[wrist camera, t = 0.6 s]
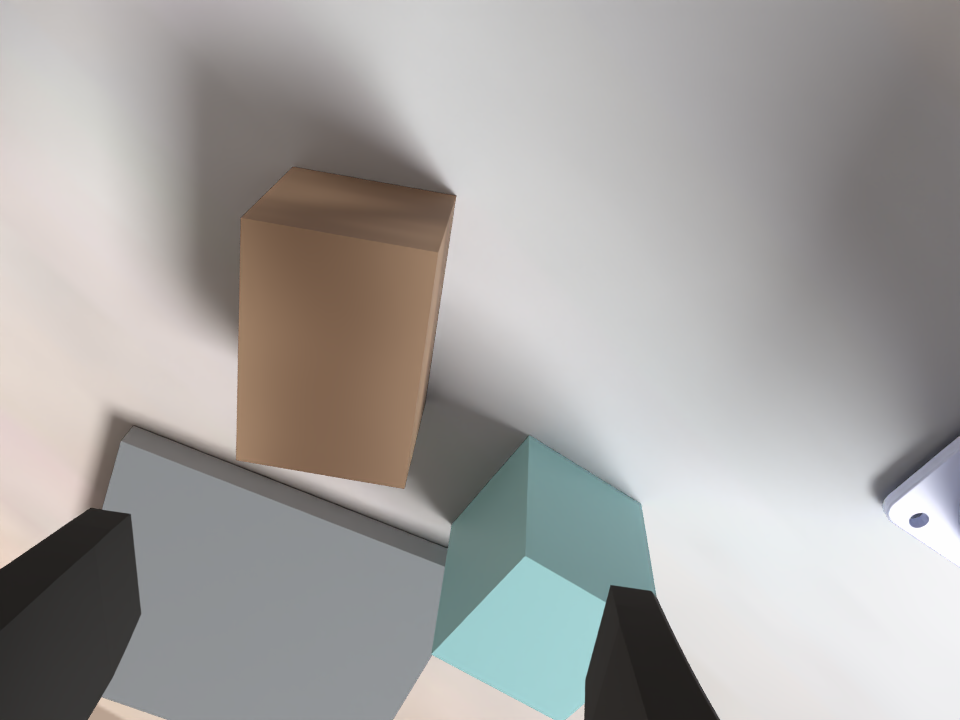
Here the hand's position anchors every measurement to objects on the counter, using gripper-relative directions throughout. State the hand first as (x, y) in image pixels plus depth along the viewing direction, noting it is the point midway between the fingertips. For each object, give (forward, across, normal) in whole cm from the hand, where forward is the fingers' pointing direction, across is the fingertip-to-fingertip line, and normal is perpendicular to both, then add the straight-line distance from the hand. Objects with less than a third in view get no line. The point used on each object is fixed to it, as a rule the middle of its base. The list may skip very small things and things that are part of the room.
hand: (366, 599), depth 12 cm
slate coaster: (+10, +5, +12) cm, 16 cm away
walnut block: (+10, +2, 0) cm, 11 cm away
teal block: (+10, -4, +6) cm, 12 cm away
